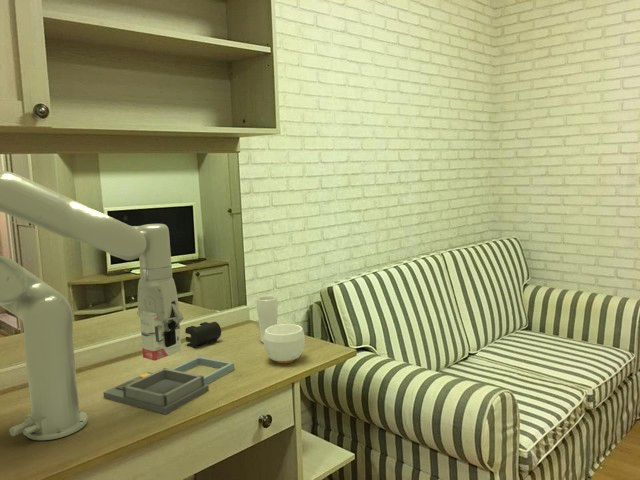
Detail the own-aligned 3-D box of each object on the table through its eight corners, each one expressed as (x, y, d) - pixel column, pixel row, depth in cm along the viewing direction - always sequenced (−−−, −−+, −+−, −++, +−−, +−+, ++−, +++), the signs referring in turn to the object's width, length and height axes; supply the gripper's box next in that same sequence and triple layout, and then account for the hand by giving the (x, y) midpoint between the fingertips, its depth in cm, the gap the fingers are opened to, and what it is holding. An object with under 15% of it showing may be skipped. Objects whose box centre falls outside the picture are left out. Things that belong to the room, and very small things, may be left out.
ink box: (154, 361, 125) (150, 314, 124) (142, 358, 128) (138, 311, 127) (183, 351, 132) (179, 306, 131) (170, 348, 135) (167, 304, 134)
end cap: (198, 350, 167) (197, 329, 167) (185, 346, 172) (183, 326, 171) (222, 342, 175) (221, 322, 174) (208, 338, 179) (207, 319, 179)
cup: (256, 361, 155) (254, 330, 154) (286, 350, 164) (285, 321, 163) (283, 370, 146) (282, 338, 145) (314, 359, 155) (312, 328, 154)
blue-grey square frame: (202, 386, 137) (202, 379, 137) (165, 378, 143) (165, 371, 143) (234, 369, 149) (234, 363, 148) (199, 362, 155) (198, 356, 155)
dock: (166, 414, 121) (164, 398, 121) (103, 397, 132) (102, 382, 131) (208, 390, 134) (207, 376, 134) (148, 377, 145) (147, 363, 144)
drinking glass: (254, 341, 174) (252, 298, 172) (270, 336, 178) (268, 294, 177) (266, 345, 169) (264, 301, 167) (282, 341, 173) (281, 297, 172)
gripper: (120, 274, 129) (126, 344, 131) (170, 278, 120) (176, 353, 123) (143, 269, 135) (149, 335, 137) (192, 272, 127) (197, 343, 129)
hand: (161, 343), depth 130 cm, fingers closed on ink box, 5 cm apart
